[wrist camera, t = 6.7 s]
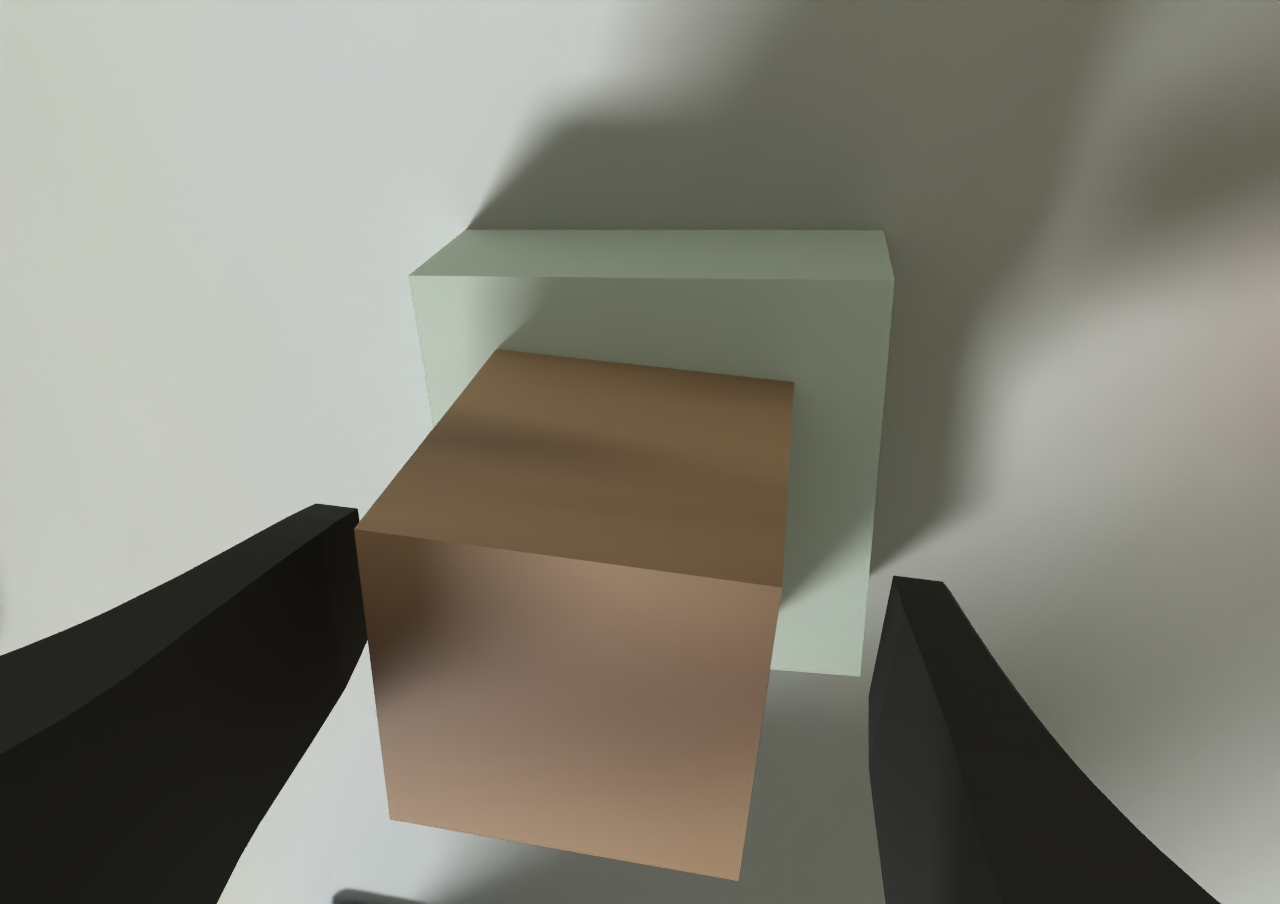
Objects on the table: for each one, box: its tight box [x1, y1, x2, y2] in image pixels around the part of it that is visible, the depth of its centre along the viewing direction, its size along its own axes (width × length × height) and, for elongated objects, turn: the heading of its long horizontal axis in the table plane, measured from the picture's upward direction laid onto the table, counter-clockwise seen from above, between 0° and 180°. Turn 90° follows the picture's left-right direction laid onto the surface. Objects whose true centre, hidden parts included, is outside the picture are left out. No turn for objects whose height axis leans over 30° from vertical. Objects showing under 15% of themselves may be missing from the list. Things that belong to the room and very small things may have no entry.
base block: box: [409, 229, 895, 677], centre depth 16 cm, size 7×7×3 cm
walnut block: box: [354, 349, 794, 881], centre depth 13 cm, size 4×4×5 cm
